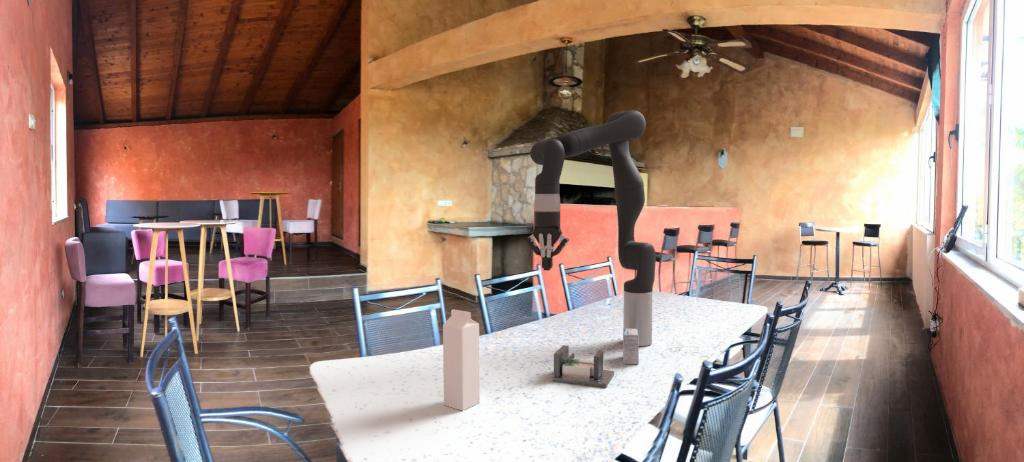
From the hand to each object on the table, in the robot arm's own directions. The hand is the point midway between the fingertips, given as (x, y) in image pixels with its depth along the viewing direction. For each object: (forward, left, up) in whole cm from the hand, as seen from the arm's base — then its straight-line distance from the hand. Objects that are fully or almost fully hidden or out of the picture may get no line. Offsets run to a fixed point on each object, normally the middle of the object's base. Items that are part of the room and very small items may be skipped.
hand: (547, 270), depth 155 cm
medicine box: (-10, +22, -27) cm, 37 cm away
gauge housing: (+10, +13, -27) cm, 32 cm away
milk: (+38, -9, -27) cm, 47 cm away
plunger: (+10, +13, -26) cm, 30 cm away
